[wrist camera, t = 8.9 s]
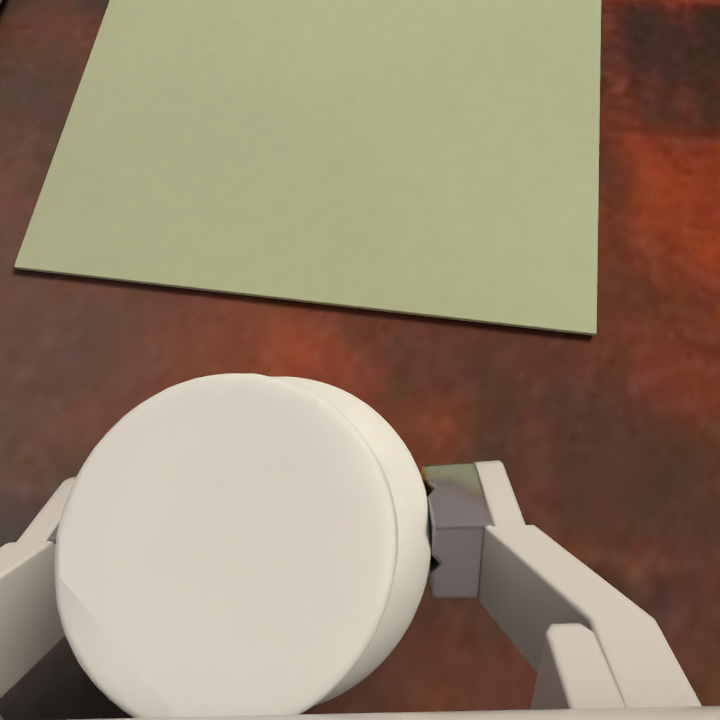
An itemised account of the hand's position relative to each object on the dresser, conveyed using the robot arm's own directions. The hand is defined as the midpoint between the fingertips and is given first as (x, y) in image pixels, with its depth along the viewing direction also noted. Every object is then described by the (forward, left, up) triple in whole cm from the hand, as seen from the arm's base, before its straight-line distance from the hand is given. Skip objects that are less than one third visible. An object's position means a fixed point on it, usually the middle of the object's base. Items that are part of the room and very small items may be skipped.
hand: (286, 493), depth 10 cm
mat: (+2, -14, -5) cm, 15 cm away
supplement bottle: (0, +1, -6) cm, 6 cm away
